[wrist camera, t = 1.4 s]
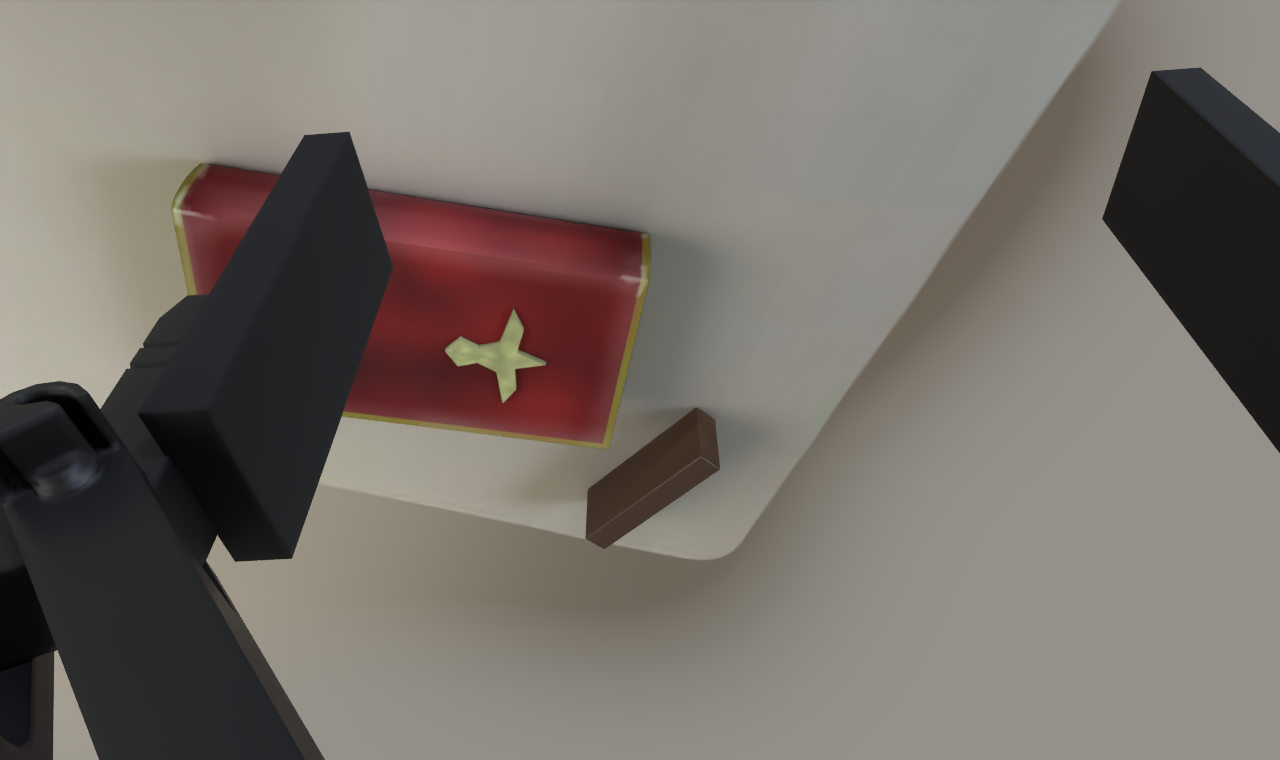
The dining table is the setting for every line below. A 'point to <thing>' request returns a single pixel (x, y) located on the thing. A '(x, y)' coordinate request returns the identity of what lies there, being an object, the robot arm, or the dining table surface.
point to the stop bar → (652, 478)
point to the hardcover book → (466, 310)
